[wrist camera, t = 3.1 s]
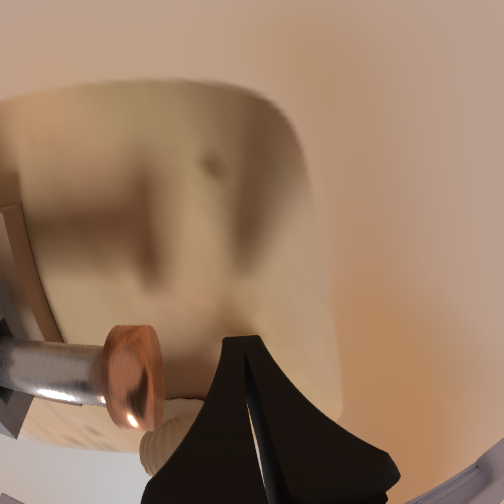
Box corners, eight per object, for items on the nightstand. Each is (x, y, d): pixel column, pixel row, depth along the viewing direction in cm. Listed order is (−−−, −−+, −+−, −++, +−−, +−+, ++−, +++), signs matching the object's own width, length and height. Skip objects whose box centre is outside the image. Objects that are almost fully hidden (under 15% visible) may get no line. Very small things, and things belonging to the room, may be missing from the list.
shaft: (-2, 357, 11) (-29, 404, 7) (-31, 299, 9) (-69, 343, 5) (167, 375, 12) (160, 449, 8) (150, 303, 10) (128, 384, 7)
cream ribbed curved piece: (125, 414, 16) (115, 479, 11) (220, 372, 15) (226, 456, 10) (166, 439, 18) (164, 498, 13) (259, 403, 16) (272, 475, 12)
